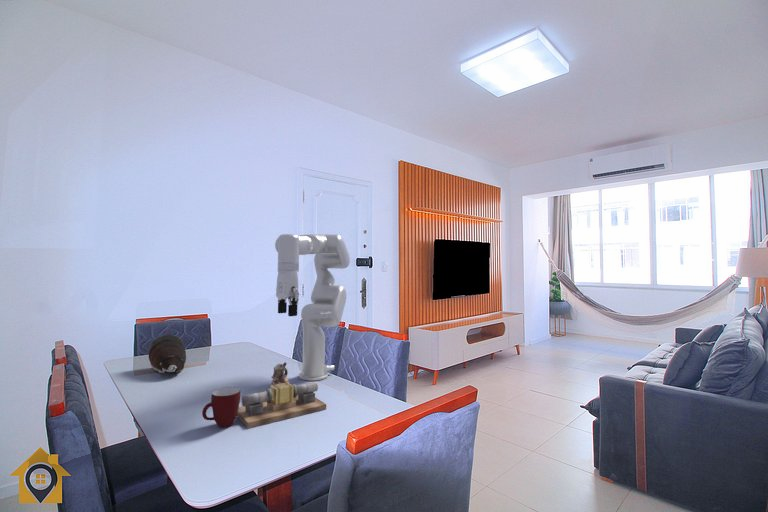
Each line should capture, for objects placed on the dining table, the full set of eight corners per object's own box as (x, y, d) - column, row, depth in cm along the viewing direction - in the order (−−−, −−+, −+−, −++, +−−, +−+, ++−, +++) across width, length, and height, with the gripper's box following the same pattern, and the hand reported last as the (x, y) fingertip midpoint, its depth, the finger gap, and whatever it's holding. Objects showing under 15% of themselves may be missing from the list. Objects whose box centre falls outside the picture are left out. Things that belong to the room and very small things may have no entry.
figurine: (266, 396, 138) (266, 363, 138) (283, 391, 143) (283, 360, 144) (276, 401, 133) (277, 367, 133) (293, 396, 138) (294, 363, 139)
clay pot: (154, 354, 151) (151, 333, 171) (147, 390, 152) (144, 365, 172) (194, 354, 160) (186, 334, 180) (187, 388, 161) (180, 364, 181)
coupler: (275, 405, 120) (276, 389, 120) (270, 400, 124) (270, 385, 125) (293, 401, 124) (293, 386, 124) (287, 396, 128) (287, 382, 128)
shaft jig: (308, 397, 137) (308, 375, 138) (326, 409, 126) (326, 385, 126) (234, 413, 122) (235, 388, 122) (247, 428, 111) (248, 400, 111)
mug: (209, 436, 105) (210, 400, 105) (197, 427, 111) (198, 393, 111) (244, 424, 113) (245, 391, 113) (232, 417, 118) (232, 385, 119)
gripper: (269, 267, 142) (268, 312, 142) (287, 268, 129) (286, 318, 128) (288, 267, 147) (287, 311, 146) (307, 268, 133) (307, 316, 133)
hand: (287, 314), depth 137 cm, fingers open, 9 cm apart
